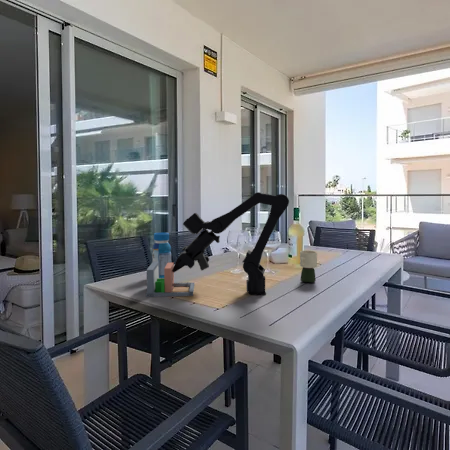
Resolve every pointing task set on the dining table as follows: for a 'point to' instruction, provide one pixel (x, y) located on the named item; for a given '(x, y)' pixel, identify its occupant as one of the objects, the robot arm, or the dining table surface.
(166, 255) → the beverage bottle
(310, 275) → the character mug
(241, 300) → the dining table surface
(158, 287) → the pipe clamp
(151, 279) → the vise body
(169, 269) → the sliding jaw
